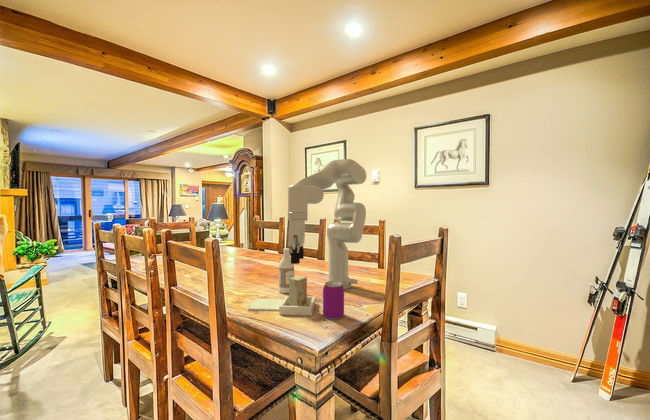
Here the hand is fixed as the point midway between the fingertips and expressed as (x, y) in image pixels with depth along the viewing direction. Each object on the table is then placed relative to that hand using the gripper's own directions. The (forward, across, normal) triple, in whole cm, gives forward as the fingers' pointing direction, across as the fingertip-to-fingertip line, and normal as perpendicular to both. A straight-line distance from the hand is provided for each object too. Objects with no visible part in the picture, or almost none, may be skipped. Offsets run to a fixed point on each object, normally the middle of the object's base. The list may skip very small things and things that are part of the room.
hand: (297, 261), depth 107 cm
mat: (+19, -4, -13) cm, 23 cm away
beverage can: (+19, +6, +14) cm, 24 cm away
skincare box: (+19, 0, 0) cm, 19 cm away
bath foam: (+19, -22, -9) cm, 30 cm away
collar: (+19, 0, 0) cm, 19 cm away
